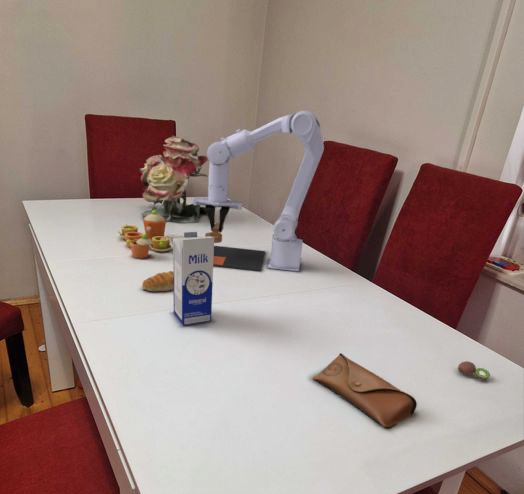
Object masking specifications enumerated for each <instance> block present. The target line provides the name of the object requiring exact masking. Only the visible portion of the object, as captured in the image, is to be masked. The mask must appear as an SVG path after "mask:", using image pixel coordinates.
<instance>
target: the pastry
mask: <svg viewBox="0 0 524 494" xmlns="http://www.w3.org/2000/svg"><path fill="white" fill-rule="evenodd" d="M141 286H142V288H143V289H144V290H146V291H148V292H154V293H157V292H169V291H174V287H173V270H169V271H167V272H165V271H164V272H158V273H155V275H152V276H149V277H148V278H146V279H144V280H143V281H142V285H141Z"/></svg>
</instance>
